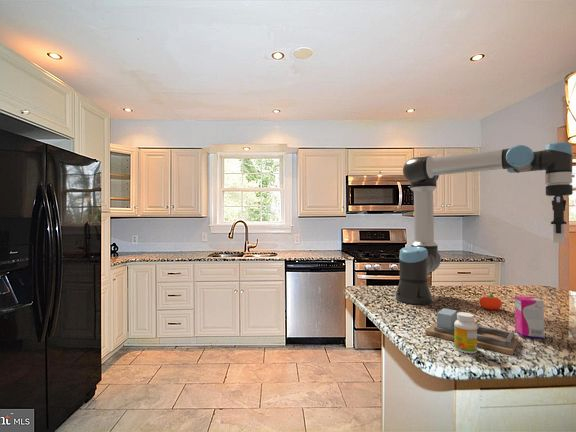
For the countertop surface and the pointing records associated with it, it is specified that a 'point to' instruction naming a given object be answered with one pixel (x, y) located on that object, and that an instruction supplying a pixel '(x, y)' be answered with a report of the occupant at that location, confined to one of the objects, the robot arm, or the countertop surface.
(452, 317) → the block
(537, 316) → the supplement box
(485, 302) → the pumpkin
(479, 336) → the brown tray with rails
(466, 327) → the supplement bottle
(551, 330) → the countertop surface
